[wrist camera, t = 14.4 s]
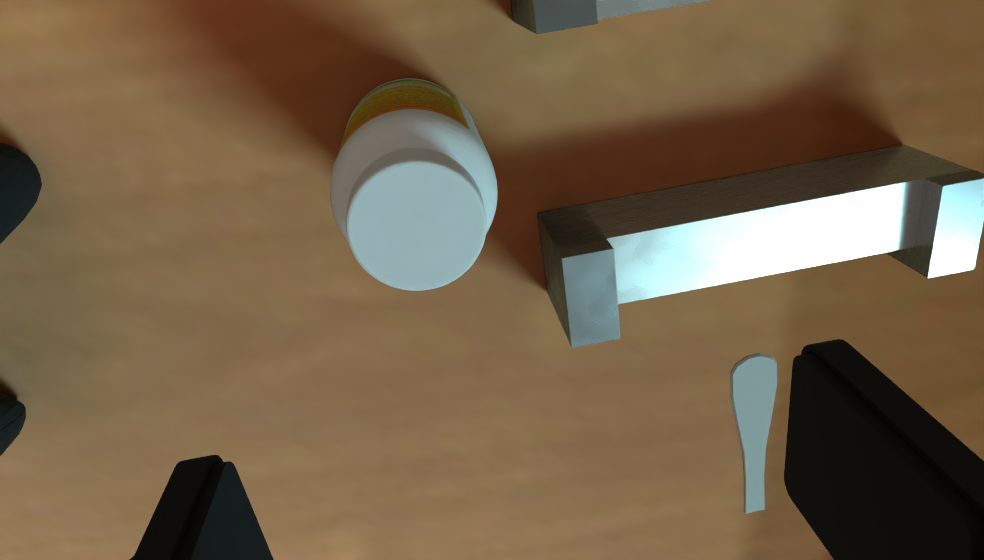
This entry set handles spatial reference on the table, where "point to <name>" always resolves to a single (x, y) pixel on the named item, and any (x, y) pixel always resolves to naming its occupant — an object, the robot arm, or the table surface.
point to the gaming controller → (3, 206)
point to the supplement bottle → (413, 185)
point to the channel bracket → (746, 216)
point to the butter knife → (753, 420)
